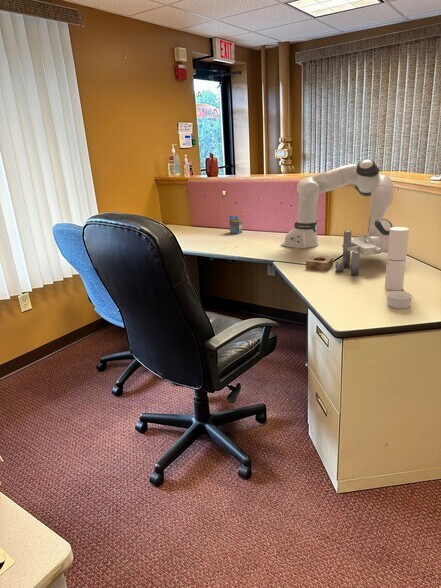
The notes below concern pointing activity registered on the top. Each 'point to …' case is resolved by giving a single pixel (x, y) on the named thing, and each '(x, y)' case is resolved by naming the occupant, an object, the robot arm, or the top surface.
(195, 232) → the top surface
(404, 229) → the cylindrical container
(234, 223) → the label tape cartridge
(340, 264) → the short steel pin
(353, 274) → the medium steel pin
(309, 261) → the walnut collar block
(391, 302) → the ramekin
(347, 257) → the tall steel pin
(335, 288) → the top surface
